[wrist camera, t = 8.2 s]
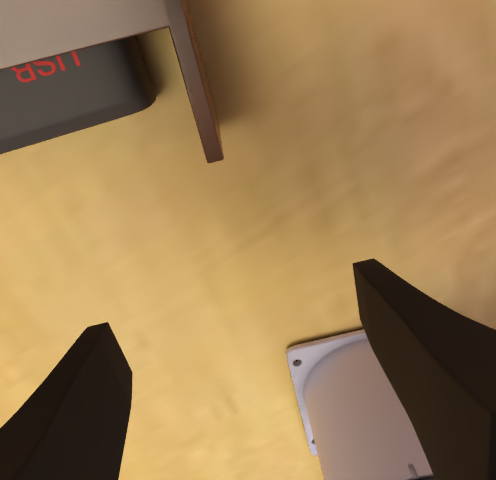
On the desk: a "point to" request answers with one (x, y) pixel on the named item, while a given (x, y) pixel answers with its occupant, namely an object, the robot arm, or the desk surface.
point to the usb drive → (72, 93)
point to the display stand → (108, 30)
